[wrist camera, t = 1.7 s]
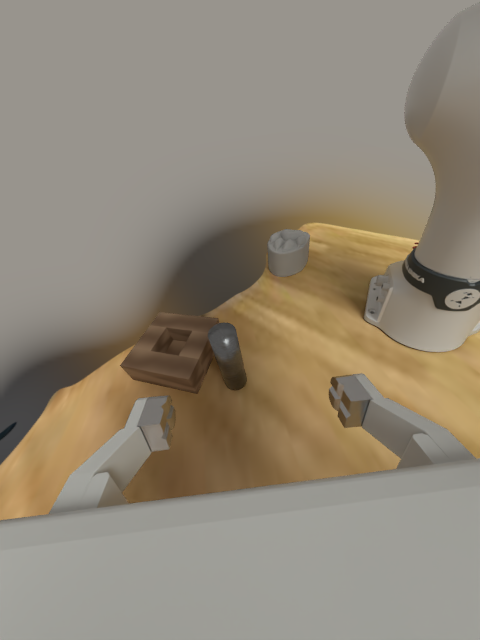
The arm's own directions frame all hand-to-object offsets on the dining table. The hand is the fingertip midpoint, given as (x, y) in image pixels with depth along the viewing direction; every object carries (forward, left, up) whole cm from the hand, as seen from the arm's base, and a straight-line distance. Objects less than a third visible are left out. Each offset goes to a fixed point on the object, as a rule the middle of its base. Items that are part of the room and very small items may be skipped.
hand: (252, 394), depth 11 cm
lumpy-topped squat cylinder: (-52, -5, -25) cm, 58 cm away
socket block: (-16, -22, -25) cm, 37 cm away
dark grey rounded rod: (-13, -9, -25) cm, 29 cm away
